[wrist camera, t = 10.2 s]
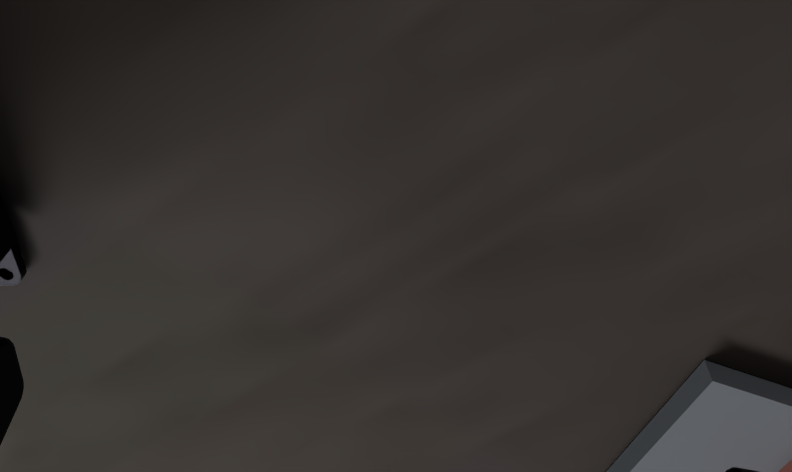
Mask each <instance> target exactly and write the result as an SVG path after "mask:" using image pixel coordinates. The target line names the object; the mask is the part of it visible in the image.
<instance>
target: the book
mask: <svg viewBox="0 0 792 472" xmlns="http://www.w3.org/2000/svg"><path fill="white" fill-rule="evenodd" d="M779 472H792V460H791V461H790V462H788V463H787V464H786V465H785V466H784V467H783V468H782V469H781V470H780V471H779Z"/></svg>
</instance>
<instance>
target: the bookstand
mask: <svg viewBox="0 0 792 472" xmlns="http://www.w3.org/2000/svg"><path fill="white" fill-rule="evenodd" d="M791 460H792V389H791V388H788V387H785V386H782V385H779V384H776V383H773V382H770V381H767V380H764V379H761V378H758V377H755V376H752V375H749V374H746V373H743V372H740V371H737V370H733V369H730V368H727V367H724V366H721V365H718V364H715V363H712V362H709V361H706V360H704V361H703V362H702V363H701V364H700V365H699V366H698V368H697V369H696V370H695V371H694V372H693V373H692V374H691V376H690V377H689V378H688V379H687V380H686V381H685V382H684V384H683V385H682V386H681V387H680V388H679V389H678V390H677V392H676V393H675V394H674V395H673V396H672V397H671V398H670V399H669V401H668V402H667V403H666V404H665V405H664V406H663V407H662V409H661V410H660V411H659V412H658V413H657V414H656V415H655V417H654V418H653V419H652V420H651V421H650V422H649V423H648V425H647V426H646V427H645V428H644V429H643V430H642V431H641V432H640V434H639V435H638V436H637V437H636V438H635V439H634V440H633V442H632V443H631V444H630V445H629V446H628V447H627V448H626V450H625V451H624V452H623V453H622V454H621V455H620V456H619V458H618V459H617V460H616V461H615V462H614V463H613V464H612V465H611V467H610V468H609V469H608V470H607V471H606V472H726V470H728V469H730V468H732V467H737V468H743V469H749V470H754V471H759V472H779V471H780V470H781V469H782V468H783V467H784V466H785V465H786V464H787V463H788V462H790V461H791Z"/></svg>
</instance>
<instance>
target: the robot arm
mask: <svg viewBox="0 0 792 472" xmlns="http://www.w3.org/2000/svg"><path fill="white" fill-rule="evenodd" d="M5 268H6V269H9V270H10V271H11V272H9V271H8V270H6V269H5ZM26 272H27V271H26V266H25V263H24V260H23V257H22V255H21V252H20V249H19V246H18V244H17V237H16V234H15V232H14V229H13V226H12V223H11V221H10V218H9V215H8V212H7V210H6V207H5V204H4V201H3V198H2V196H1V193H0V285H5V286H12V285H16V284H18V283H19V282H20V281H21V280H22V278H23V277H24V276H25V274H26ZM23 389H24V383H23V377H22V374H21V370H20V366H19V362H18V358H17V354H16V351H15V347H14V344H13V343H12V342H11V341H10V340H9V339H7V338H4V337H0V445H1V443H2V440H3V438H4V436H5V434H6V432H7V429H8V427H9V425H10V423H11V421H12V418H13V416H14V414H15V412H16V410H17V407H18V405H19V403H20V400H21V398H22V394H23ZM726 472H759V471H754V470H749V469H743V468H737V467H732V468H730V469H728V470H726Z"/></svg>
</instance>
